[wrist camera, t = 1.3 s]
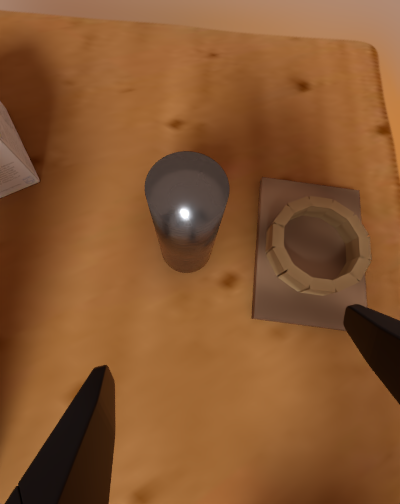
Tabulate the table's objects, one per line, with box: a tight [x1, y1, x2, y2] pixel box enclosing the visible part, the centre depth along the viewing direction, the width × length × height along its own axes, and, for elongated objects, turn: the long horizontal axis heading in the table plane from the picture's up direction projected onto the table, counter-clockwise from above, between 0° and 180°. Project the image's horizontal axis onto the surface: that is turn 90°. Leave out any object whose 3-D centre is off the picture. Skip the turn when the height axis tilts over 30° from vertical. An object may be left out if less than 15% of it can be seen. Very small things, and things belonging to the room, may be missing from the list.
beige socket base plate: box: [252, 177, 372, 331], centre depth 24 cm, size 14×10×3 cm
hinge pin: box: [145, 151, 229, 273], centre depth 20 cm, size 5×5×11 cm
